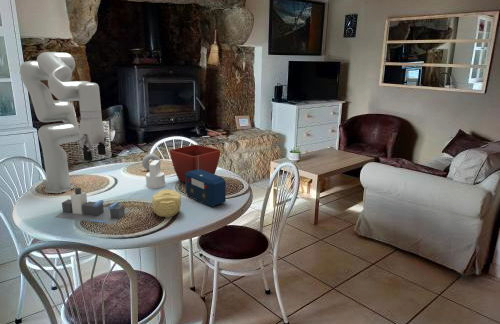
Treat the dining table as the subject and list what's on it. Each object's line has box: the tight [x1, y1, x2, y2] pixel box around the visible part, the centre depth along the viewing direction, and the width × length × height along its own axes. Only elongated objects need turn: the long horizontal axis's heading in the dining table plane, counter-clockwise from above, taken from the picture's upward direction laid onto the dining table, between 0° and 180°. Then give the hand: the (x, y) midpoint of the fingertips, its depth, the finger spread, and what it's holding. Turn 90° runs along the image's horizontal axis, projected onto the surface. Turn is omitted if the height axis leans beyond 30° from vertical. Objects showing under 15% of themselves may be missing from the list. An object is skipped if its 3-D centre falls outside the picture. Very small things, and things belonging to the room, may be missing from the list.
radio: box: [185, 160, 227, 207], centre depth 165 cm, size 21×9×20 cm, turn 45°
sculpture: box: [151, 189, 182, 218], centre depth 150 cm, size 11×12×11 cm
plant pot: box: [169, 144, 222, 183], centre depth 191 cm, size 19×19×17 cm
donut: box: [141, 153, 161, 171], centre depth 207 cm, size 10×3×10 cm, turn 112°
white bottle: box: [70, 187, 88, 214], centre depth 147 cm, size 4×4×10 cm
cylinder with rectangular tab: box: [145, 159, 166, 189], centre depth 183 cm, size 9×9×12 cm
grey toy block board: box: [54, 198, 132, 228], centre depth 147 cm, size 25×14×6 cm, turn 78°
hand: (95, 157), depth 147 cm, fingers open, 9 cm apart
